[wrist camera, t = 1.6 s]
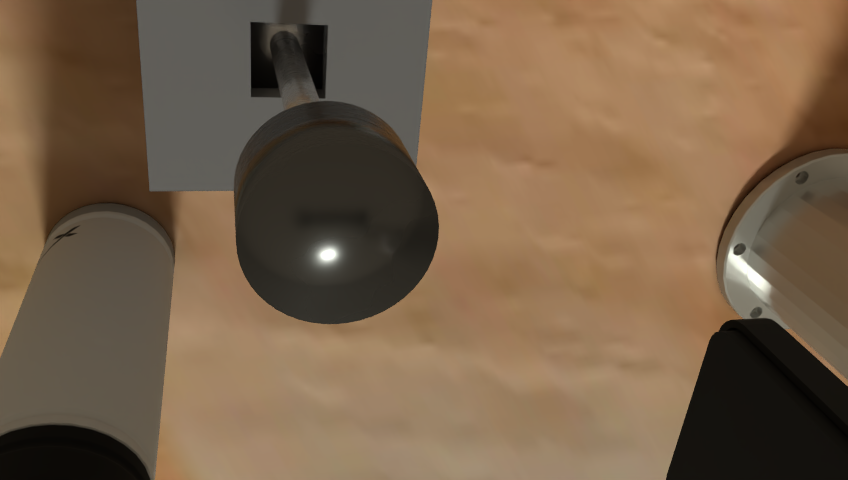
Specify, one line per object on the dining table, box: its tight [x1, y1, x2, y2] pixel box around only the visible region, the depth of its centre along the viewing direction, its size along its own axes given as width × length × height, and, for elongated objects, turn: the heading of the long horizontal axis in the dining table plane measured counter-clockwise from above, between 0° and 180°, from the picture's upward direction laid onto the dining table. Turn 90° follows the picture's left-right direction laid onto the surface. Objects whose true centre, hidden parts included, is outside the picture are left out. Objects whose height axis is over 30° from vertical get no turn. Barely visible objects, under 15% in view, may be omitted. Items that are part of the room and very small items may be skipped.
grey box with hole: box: [136, 0, 432, 191], centre depth 31 cm, size 9×9×13 cm
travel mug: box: [0, 203, 175, 480], centre depth 32 cm, size 6×7×20 cm
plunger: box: [234, 22, 439, 324], centre depth 21 cm, size 6×6×15 cm
